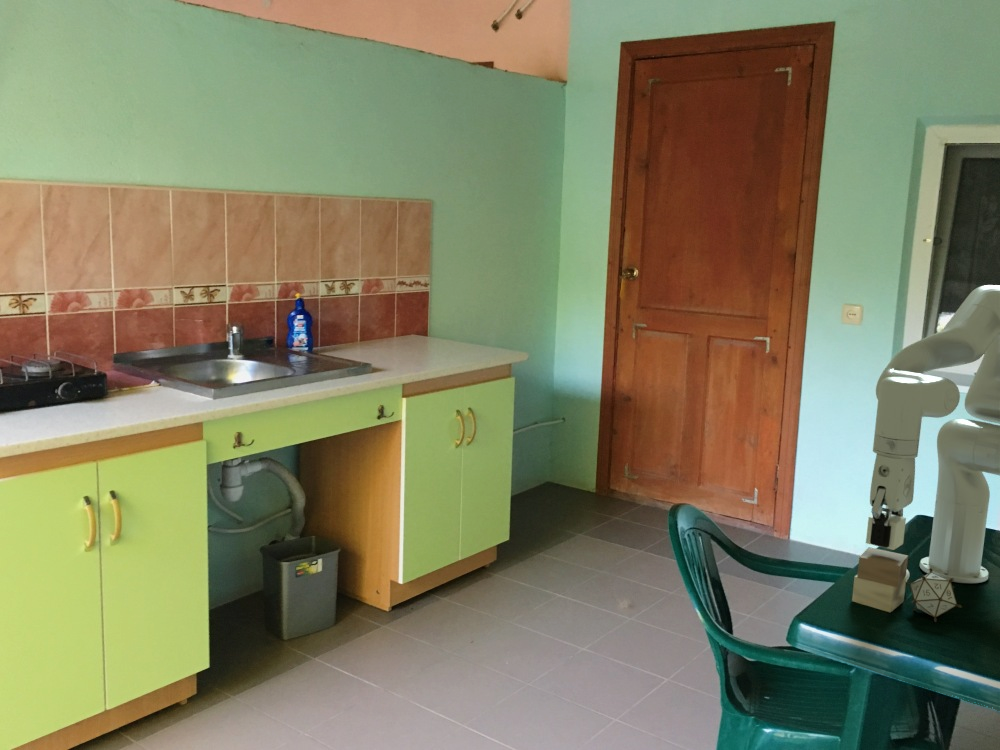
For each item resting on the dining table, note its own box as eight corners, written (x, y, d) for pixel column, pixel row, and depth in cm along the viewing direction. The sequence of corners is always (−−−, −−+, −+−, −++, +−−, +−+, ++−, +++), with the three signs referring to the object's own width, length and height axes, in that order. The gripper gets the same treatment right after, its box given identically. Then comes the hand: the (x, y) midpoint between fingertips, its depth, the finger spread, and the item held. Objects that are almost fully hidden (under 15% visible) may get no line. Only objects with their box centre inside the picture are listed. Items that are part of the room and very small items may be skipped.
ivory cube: (903, 543, 171) (906, 517, 170) (893, 550, 167) (896, 523, 167) (875, 537, 174) (878, 511, 174) (865, 543, 171) (868, 516, 170)
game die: (920, 630, 170) (916, 576, 174) (970, 627, 164) (964, 572, 169) (901, 617, 164) (897, 562, 169) (951, 614, 159) (945, 557, 163)
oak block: (865, 591, 178) (868, 566, 177) (903, 602, 173) (906, 576, 172) (851, 601, 173) (854, 576, 172) (890, 613, 168) (893, 587, 167)
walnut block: (866, 567, 177) (868, 547, 176) (905, 576, 173) (908, 555, 172) (857, 577, 171) (859, 557, 170) (897, 587, 167) (899, 566, 167)
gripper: (901, 457, 159) (889, 558, 162) (932, 442, 172) (921, 536, 175) (857, 449, 164) (846, 547, 167) (891, 435, 177) (880, 527, 180)
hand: (885, 540), depth 171 cm, fingers closed on ivory cube, 5 cm apart
